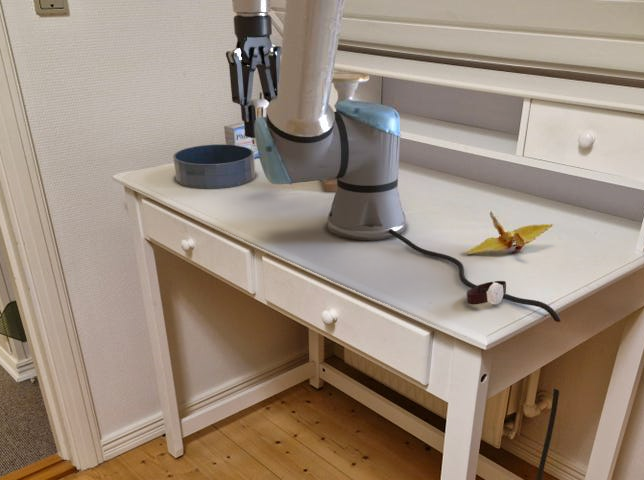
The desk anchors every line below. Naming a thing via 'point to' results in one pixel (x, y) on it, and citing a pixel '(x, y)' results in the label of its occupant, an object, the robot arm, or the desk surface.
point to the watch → (487, 293)
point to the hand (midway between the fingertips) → (259, 134)
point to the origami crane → (510, 237)
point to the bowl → (214, 166)
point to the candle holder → (345, 89)
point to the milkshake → (259, 110)
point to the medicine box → (239, 137)
